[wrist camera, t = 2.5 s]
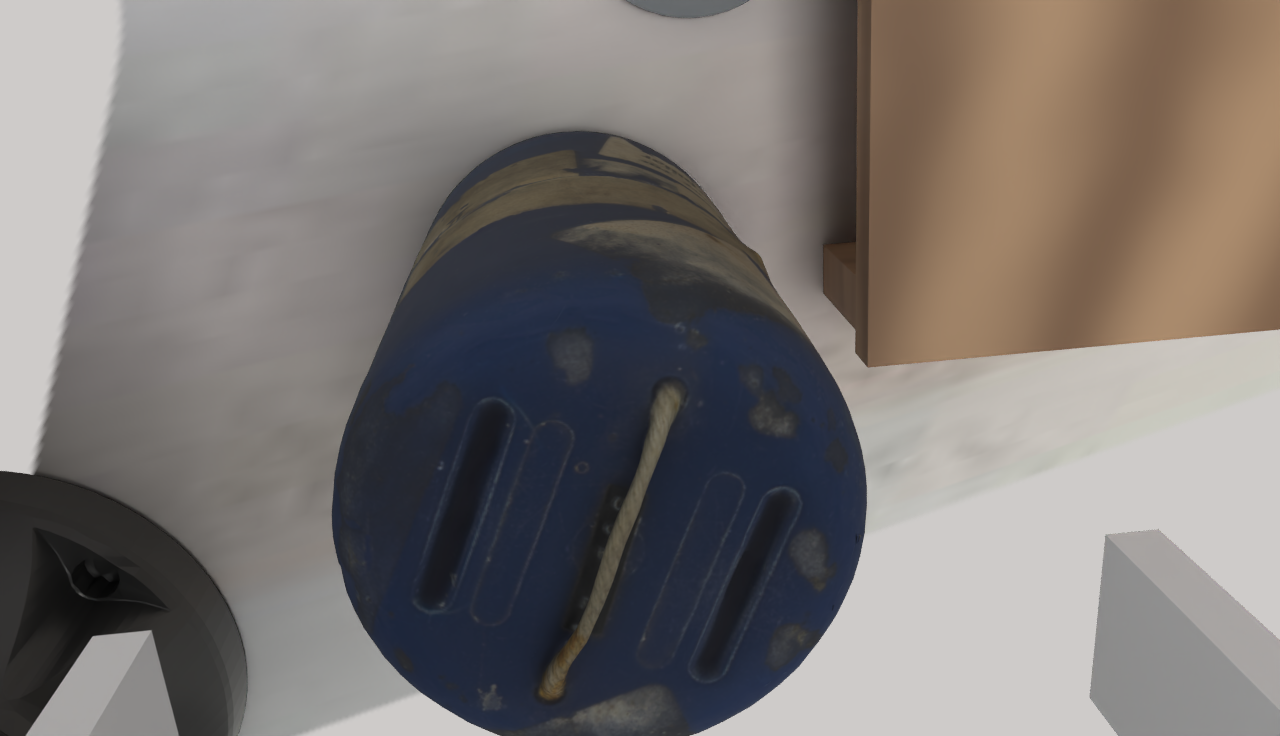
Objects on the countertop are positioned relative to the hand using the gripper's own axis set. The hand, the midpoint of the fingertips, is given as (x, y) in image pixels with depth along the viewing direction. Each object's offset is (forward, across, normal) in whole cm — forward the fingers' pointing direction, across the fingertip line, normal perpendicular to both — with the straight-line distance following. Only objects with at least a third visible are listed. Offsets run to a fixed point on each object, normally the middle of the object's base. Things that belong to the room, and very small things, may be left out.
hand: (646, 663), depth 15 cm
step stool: (+20, +14, +5) cm, 25 cm away
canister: (+20, 0, 0) cm, 20 cm away
